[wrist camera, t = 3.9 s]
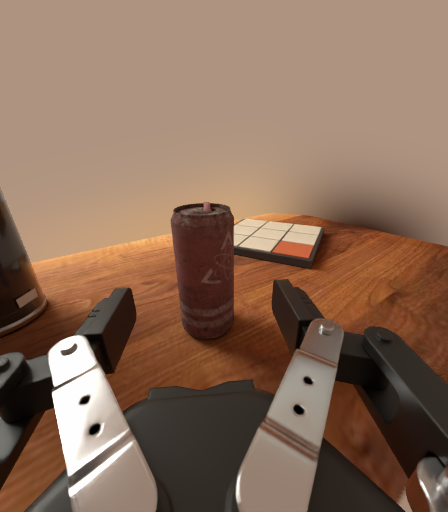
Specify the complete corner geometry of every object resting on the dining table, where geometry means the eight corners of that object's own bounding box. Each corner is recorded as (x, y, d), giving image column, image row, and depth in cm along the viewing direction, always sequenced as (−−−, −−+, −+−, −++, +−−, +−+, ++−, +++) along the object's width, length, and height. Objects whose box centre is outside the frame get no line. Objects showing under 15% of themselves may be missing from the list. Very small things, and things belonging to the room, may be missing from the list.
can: (230, 304, 31) (229, 200, 25) (236, 339, 25) (237, 213, 19) (184, 307, 30) (173, 201, 24) (180, 343, 24) (165, 216, 19)
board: (204, 248, 49) (204, 241, 49) (243, 223, 67) (244, 217, 66) (310, 268, 40) (312, 260, 39) (323, 233, 58) (324, 226, 57)
